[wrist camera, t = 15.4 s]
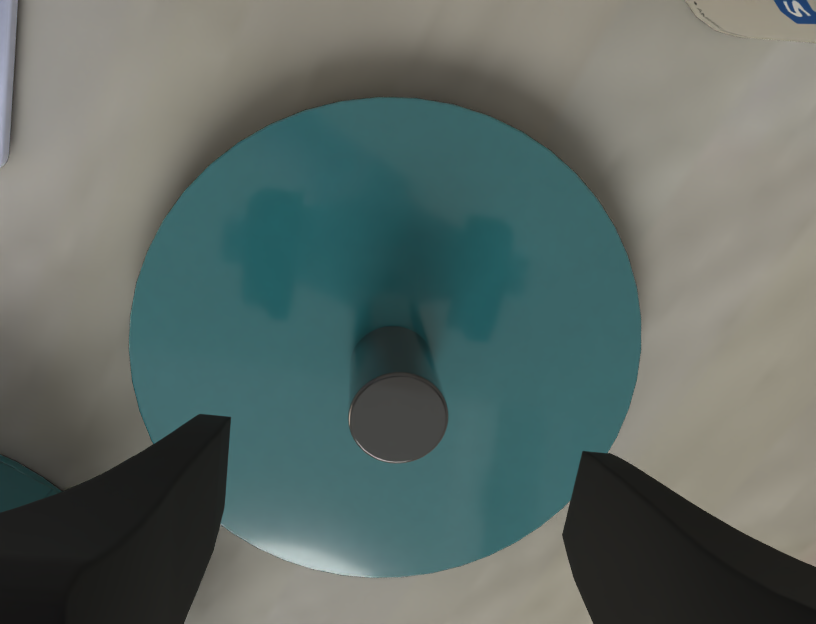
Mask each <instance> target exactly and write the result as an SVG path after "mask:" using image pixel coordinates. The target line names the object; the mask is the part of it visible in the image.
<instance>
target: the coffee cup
mask: <svg viewBox="0 0 816 624" xmlns="http://www.w3.org/2000/svg"><path fill="white" fill-rule="evenodd" d="M685 1H686V2H687V4H688V5H689V7H690V8H691V10H692V11H693V13H694V14H695V16H696V17H698V18H699V19H700V20H702V21H703V22H704V23H706V24H707V25H709V26H710V27H711V28H713V29H714V30H715V31H718V32H722V33H726V34H729V35H733V36H737V37H742V38H755V39H769V40H783V41H796V42H810V43H816V0H685Z"/></svg>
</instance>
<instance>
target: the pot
mask: <svg viewBox="0 0 816 624" xmlns="http://www.w3.org/2000/svg"><path fill="white" fill-rule="evenodd" d="M60 492H62V491H61V490H60V489H58V488H57V487H55V486H54V485H53V484H51V483H50V482H49V481H47V480H46V479H45V478H43V477H42V476H40V475H38V474H37V473H35V472H33V471H32V470H30V469H28V468H26V467H25V466H23V465H21V464H20V463H18V462H16V461H14V460H12V459H9V458H7V457H5V456H3V455H1V454H0V512H4V511H7V510H11V509H14V508H17V507H20V506H23V505H26V504H29V503H31V502H34V501H37V500H40V499H43V498H46V497H49V496H52V495H55V494H58V493H60Z"/></svg>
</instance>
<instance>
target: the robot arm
mask: <svg viewBox="0 0 816 624" xmlns="http://www.w3.org/2000/svg"><path fill="white" fill-rule="evenodd" d="M17 10H18V0H0V167H3V165H4V164H5V163H6V162H7V160H8V157H9V148H10V131H11V114H12V96H13V79H14V62H15V45H16V28H17ZM230 426H231V417H227V416H217V415H207V414H199V415H197V416H195V417H194V418H192V419H191V420H189V421H188V422H186V423H185V424H183V425H182V426H180V427H179V428H177V429H176V430H174V431H173V432H171V433H170V434H168V435H167V436H165V437H164V438H162V439H161V440H159V441H158V442H156V443H155V444H153V445H152V446H150V447H148V448H147V449H145V450H144V451H142V452H140V453H138V454H137V455H135V456H133V457H131V458H130V459H128V460H126V461H124V462H123V463H121V464H119V465H117V466H116V467H114V468H112V469H110V470H109V471H107V472H105V473H103V474H101V475H99V476H97V477H94V478H92V479H90V480H88V481H86V482H84V483H81V484H79V485H77V486H74V487H72V488H70V489H67V490H65V491H63V492H60V493H58V494H55V495H52V496H49V497H46V498H43V499H40V500H37V501H34V502H31V503H29V504H26V505H23V506H20V507H17V508H14V509H11V510H7V511H4V512H0V624H184V622H185V619H186V617H187V614H188V612H189V609H190V607H191V605H192V602H193V600H194V597H195V595H196V592H197V590H198V588H199V585H200V583H201V580H202V578H203V575H204V573H205V570H206V568H207V565H208V563H209V560H210V558H211V555H212V553H213V550H214V546H215V543H216V539H217V535H218V531H219V527H220V524H221V520H222V516H223V512H224V508H225V495H226V481H227V467H228V453H229V439H230ZM562 536H563V540H564V544H565V548H566V552H567V556H568V560H569V563H570V567H571V570H572V574H573V577H574V580H575V582H576V585H577V587H578V589H579V592H580V594H581V596H582V599H583V601H584V603H585V606H586V608H587V610H588V612H589V615H590V617H591V619H592V621H593V624H816V567H814V566H812V565H810V564H807V563H805V562H802V561H800V560H798V559H796V558H793V557H791V556H789V555H787V554H784V553H782V552H780V551H778V550H776V549H774V548H772V547H770V546H768V545H766V544H764V543H762V542H760V541H758V540H756V539H754V538H752V537H750V536H748V535H746V534H744V533H742V532H740V531H739V530H737V529H735V528H733V527H731V526H730V525H728V524H726V523H725V522H723V521H721V520H719V519H718V518H716V517H714V516H712V515H711V514H709V513H707V512H706V511H704V510H702V509H701V508H699V507H697V506H696V505H694V504H693V503H691V502H689V501H688V500H686V499H685V498H683V497H681V496H680V495H678V494H677V493H675V492H674V491H672V490H671V489H669V488H668V487H666V486H664V485H663V484H661V483H660V482H658V481H657V480H655V479H654V478H652V477H651V476H649V475H647V474H646V473H644V472H643V471H641V470H640V469H638V468H636V467H635V466H633V465H631V464H630V463H628V462H626V461H625V460H623V459H621V458H619V457H617V456H615V455H613V454H610V453H599V452H589V451H582V455H581V459H580V463H579V468H578V472H577V476H576V480H575V484H574V488H573V493H572V497H571V501H570V505H569V509H568V513H567V518H566V522H565V526H564V530H563V534H562Z"/></svg>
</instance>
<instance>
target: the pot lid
mask: <svg viewBox="0 0 816 624" xmlns="http://www.w3.org/2000/svg"><path fill="white" fill-rule="evenodd" d="M640 354H641V313H640V306H639V298H638V291H637V285H636V282H635V278H634V275H633V271H632V268H631V264H630V261H629V257H628V255H627V252H626V250H625V248H624V246H623V243H622V241H621V239H620V237H619V234H618V232H617V230H616V228H615V226H614V224H613V223H612V221H611V219H610V218H609V216H608V215H607V213H606V211H605V210H604V208H603V207H602V205H601V203H600V202H599V200H598V199H597V197H596V196H595V195H594V194H593V193H592V192H591V190H590V189H589V188H588V187H587V186H586V184H585V183H584V182H583V181H582V180H581V179H580V177H579V176H578V175H577V174H576V173H575V172H574V171H573V170H572V169H571V168H570V167H568V166H567V165H566V164H565V163H564V162H563V161H562V160H561V159H559V158H558V157H557V156H556V155H555V154H554V153H553V152H552V151H550V150H549V149H548V148H546V147H545V146H543V145H542V144H540V143H539V142H537V141H536V140H534V139H533V138H531V137H530V136H528V135H527V134H525V133H524V132H522V131H520V130H518V129H516V128H514V127H512V126H510V125H508V124H506V123H504V122H502V121H499V120H497V119H495V118H493V117H491V116H489V115H486V114H483V113H480V112H477V111H474V110H471V109H467V108H464V107H461V106H458V105H455V104H450V103H444V102H438V101H432V100H426V99H421V98H406V97H372V98H362V99H353V100H344V101H338V102H335V103H331V104H327V105H323V106H319V107H315V108H311V109H307V110H303V111H301V112H298V113H296V114H294V115H291V116H289V117H286V118H284V119H281V120H279V121H276V122H274V123H271V124H269V125H267V126H266V127H264V128H262V129H260V130H259V131H257V132H255V133H254V134H252V135H250V136H248V137H247V138H245V139H243V140H241V141H240V142H238V143H237V144H235V145H234V146H233V147H232V148H230V149H229V150H228V151H226V152H225V153H224V154H223V155H221V156H220V157H219V158H217V159H216V160H215V161H214V162H212V163H211V164H210V165H209V166H208V167H207V168H206V169H205V170H204V171H203V172H202V173H201V174H200V175H199V176H198V177H197V178H196V179H195V180H194V181H193V182H192V183H191V184H190V185H189V186H188V187H187V188H186V190H185V191H184V192H183V193H182V195H181V196H180V197H179V199H178V200H177V202H176V203H175V204H174V206H173V207H172V208H171V210H170V211H169V213H168V214H167V215H166V217H165V218H164V220H163V221H162V223H161V225H160V227H159V229H158V231H157V233H156V235H155V237H154V239H153V241H152V243H151V245H150V247H149V248H148V250H147V253H146V256H145V259H144V262H143V265H142V268H141V271H140V273H139V276H138V279H137V282H136V287H135V292H134V297H133V303H132V308H131V313H130V329H129V356H130V366H131V376H132V382H133V386H134V390H135V394H136V398H137V402H138V406H139V410H140V413H141V416H142V418H143V421H144V423H145V426H146V428H147V431H148V433H149V436H150V438H151V440H152V442H153V444H155V443H156V442H158V441H159V440H161V439H162V438H164V437H165V436H167V435H168V434H170V433H171V432H173V431H174V430H176V429H177V428H179V427H180V426H182V425H183V424H185V423H186V422H188V421H189V420H191V419H192V418H194V417H195V416H197V415H199V414H207V415H217V416H227V417H231V426H230V439H229V453H228V467H227V481H226V495H225V508H224V512H223V516H222V520H221V525H222V526H224V527H225V528H226V529H227V530H229V531H230V532H231V533H233V534H235V535H236V536H238V537H240V538H241V539H243V540H245V541H246V542H248V543H250V544H251V545H253V546H255V547H256V548H258V549H260V550H263V551H265V552H267V553H269V554H271V555H274V556H276V557H278V558H280V559H282V560H285V561H288V562H291V563H294V564H297V565H300V566H304V567H307V568H310V569H313V570H318V571H323V572H328V573H333V574H338V575H344V576H355V577H367V578H392V577H408V576H415V575H423V574H430V573H435V572H439V571H443V570H447V569H451V568H455V567H459V566H462V565H465V564H468V563H471V562H473V561H476V560H479V559H482V558H484V557H487V556H490V555H492V554H494V553H496V552H498V551H500V550H502V549H504V548H506V547H508V546H510V545H512V544H514V543H516V542H517V541H519V540H520V539H522V538H523V537H525V536H526V535H528V534H530V533H531V532H533V531H534V530H536V529H537V528H539V527H540V526H542V525H543V524H544V523H545V522H546V521H548V520H549V519H550V518H551V517H553V516H554V515H555V514H556V513H557V512H559V511H560V510H561V509H562V508H563V507H564V506H565V505H566V504H567V503H568V502H569V501H570V500H571V497H572V493H573V488H574V484H575V480H576V476H577V472H578V468H579V463H580V459H581V455H582V451H589V452H599V453H608V451H609V450H610V448H611V446H612V444H613V443H614V441H615V439H616V437H617V436H618V433H619V431H620V428H621V426H622V424H623V421H624V419H625V417H626V414H627V412H628V409H629V406H630V403H631V399H632V395H633V392H634V388H635V385H636V381H637V375H638V368H639V361H640Z"/></svg>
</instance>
